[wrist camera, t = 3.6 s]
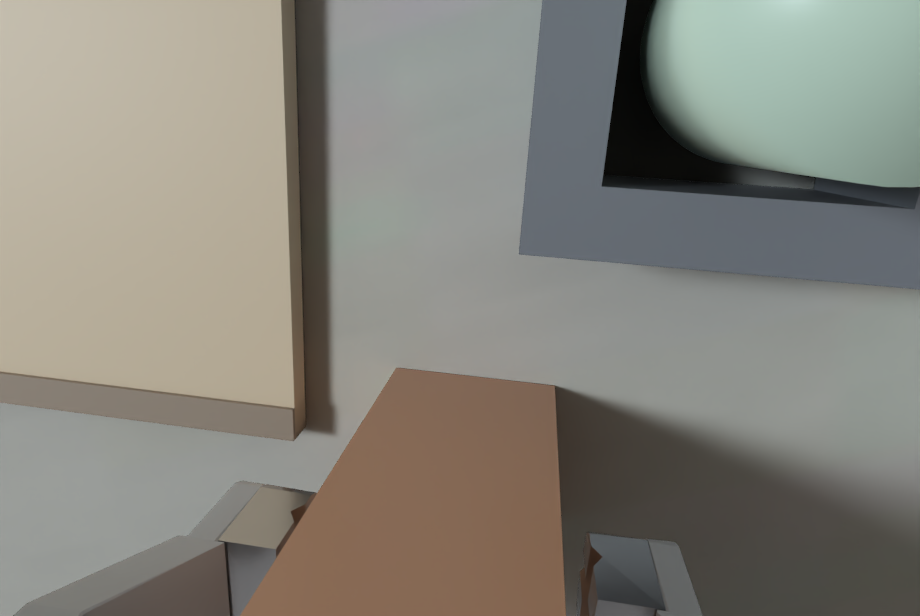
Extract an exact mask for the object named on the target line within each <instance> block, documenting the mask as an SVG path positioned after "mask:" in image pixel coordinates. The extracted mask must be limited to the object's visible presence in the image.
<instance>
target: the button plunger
mask: <svg viewBox="0 0 920 616" xmlns="http://www.w3.org/2000/svg"><path fill="white" fill-rule="evenodd" d="M640 73H641V78H642V84H643V89H644V92H645V95H646V98H647V101H648V104H649V106H650V108H651V110H652V112H653V114H654V116H655V117H656V119H657V120H658V122H659V123H660V125H661V126H662V127H663V129H664V130H665V131H666V132H667V133H668V134H669V135H670V136H671V137H672V138H673V139H674V140H675V141H676V142H678V143H679V144H680V145H681V146H683V147H684V148H686V149H687V150H689V151H691V152H692V153H694V154H696V155H699V156H701V157H703V158H706V159H708V160H712V161H716V162H719V163H725V164H731V165H738V166H745V167H751V168H758V169H765V170H772V171H778V172H785V173H792V174H798V175H805V176H812V177H819V178H825V179H832V180H839V181H845V182H852V183H859V184H866V185H874V186H881V187H920V0H653V2H652V4H651V6H650V9H649V12H648V15H647V18H646V21H645V24H644V29H643V34H642V38H641V47H640Z"/></svg>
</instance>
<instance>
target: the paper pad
mask: <svg viewBox="0 0 920 616" xmlns="http://www.w3.org/2000/svg"><path fill="white" fill-rule="evenodd" d="M0 403H8V404H15V405H23V406H31V407H38V408H46V409H53V410H61V411H68V412H76V413H84V414H91V415H99V416H106V417H114V418H121V419H129V420H137V421H144V422H152V423H159V424H167V425H174V426H182V427H190V428H197V429H205V430H212V431H220V432H227V433H235V434H243V435H250V436H258V437H265V438H273V439H280V440H288V441H294V440H295V439H296V438H297V436H298V435H299V434H300V433H301V432H302V430H303V429H304V428H305V427H306V416H305V378H304V340H303V302H302V265H301V227H300V189H299V151H298V113H297V75H296V38H295V0H0Z"/></svg>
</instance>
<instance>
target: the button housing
mask: <svg viewBox="0 0 920 616" xmlns="http://www.w3.org/2000/svg"><path fill="white" fill-rule="evenodd" d="M626 1H627V0H543V1H542V11H541V22H540V33H539V44H538V54H537V65H536V76H535V86H534V97H533V108H532V118H531V129H530V140H529V150H528V161H527V172H526V183H525V193H524V204H523V215H522V225H521V236H520V247H519V254H521V255H532V256H544V257H555V258H567V259H578V260H590V261H601V262H612V263H624V264H635V265H647V266H658V267H670V268H681V269H692V270H704V271H715V272H727V273H738V274H749V275H761V276H772V277H784V278H795V279H807V280H818V281H829V282H841V283H852V284H864V285H875V286H887V287H898V288H909V289H920V187H881V186H874V185H866V184H859V183H852V182H845V181H839V180H832V179H825V178H819V177H816V181H815V185H814V189H800V188H785V187H771V186H757V185H743V184H728V183H714V182H700V181H685V180H671V179H657V178H642V177H628V176H614V175H603V172H604V165H605V157H606V150H607V142H608V135H609V128H610V120H611V113H612V105H613V98H614V90H615V83H616V75H617V68H618V60H619V53H620V46H621V38H622V31H623V23H624V16H625V8H626Z"/></svg>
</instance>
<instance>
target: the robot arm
mask: <svg viewBox="0 0 920 616" xmlns="http://www.w3.org/2000/svg"><path fill="white" fill-rule="evenodd" d="M316 494H317V493H316V492H310V491H304V490H298V489H292V488H286V487H280V486H274V485H268V484H266V485H264V484H260V483H253V482H247V481H239V482H237V483H235V484H234V485H233V486H232V487H231V488H230V489H229V490H228V491H227V492H226V493H225V495H224V496H223V497H222V498H221V499H220V500H219V501H218V502H217V503H216V505H215V506H214V507H213V508H212V509H211V510H210V511H209V512H208V513H207V515H206V516H205V517H204V518H203V519H202V520H201V521H200V522H199V524H198V525H197V526H196V527H195V528H194V529H193V530H192V531H191V532H190V534H189V535H188V536H187V537H186V536H177V537H174V538H172V539H170V540H168V541H165V542H163V543H161V544H159V545H156V546H154V547H152V548H150V549H147V550H145V551H143V552H141V553H138V554H136V555H134V556H132V557H130V558H127V559H125V560H123V561H121V562H118V563H116V564H114V565H112V566H109V567H107V568H105V569H103V570H100V571H98V572H96V573H94V574H91V575H89V576H87V577H85V578H82V579H80V580H78V581H76V582H74V583H71V584H69V585H67V586H65V587H62V588H60V589H58V590H56V591H53V592H51V593H49V594H47V595H44V596H42V597H40V598H38V599H35V600H33V601H31V602H29V603H27V604H26V605H24V606H23V607H22V608H21V609H20V610H19V611H18V612H17V613H16V614H14V615H13V616H240V615H241V613H242V612H243V610H244V609H245V607H246V605H247V604H248V602H249V601H250V599H251V598H252V596H253V594H254V593H255V591H256V590H257V588H258V586H259V585H260V583H261V582H262V580H263V579H264V577H265V575H266V574H267V572H268V571H269V569H270V567H271V566H272V564H273V563H274V561H275V559H276V558H277V556H278V555H279V553H280V552H281V550H282V548H283V547H284V545H285V544H286V542H287V540H288V539H289V537H290V536H291V534H292V532H293V531H294V529H295V528H296V526H297V525H298V523H299V521H300V520H301V518H302V517H303V515H304V513H305V512H306V510H307V509H308V507H309V506H310V504H311V502H312V501H313V499H314V498H315V496H316ZM583 555H584V566H585V568H583V569H582V570H581V571H580V575H579V583H578V593H577V616H703V615H702V612H701V609H700V606H699V603H698V600H697V597H696V594H695V591H694V588H693V586H692V583H691V580H690V577H689V574H688V571H687V568H686V565H685V562H684V559H683V556H682V553H681V551H680V548H679V546H678V545H677V544H676V543H675V542H671V541H662V540H654V539H645V540H644V539H638V538H630V537H623V536H616V535H609V534H601V533H594V532H587V534H586V537H585V542H584V548H583Z"/></svg>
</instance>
